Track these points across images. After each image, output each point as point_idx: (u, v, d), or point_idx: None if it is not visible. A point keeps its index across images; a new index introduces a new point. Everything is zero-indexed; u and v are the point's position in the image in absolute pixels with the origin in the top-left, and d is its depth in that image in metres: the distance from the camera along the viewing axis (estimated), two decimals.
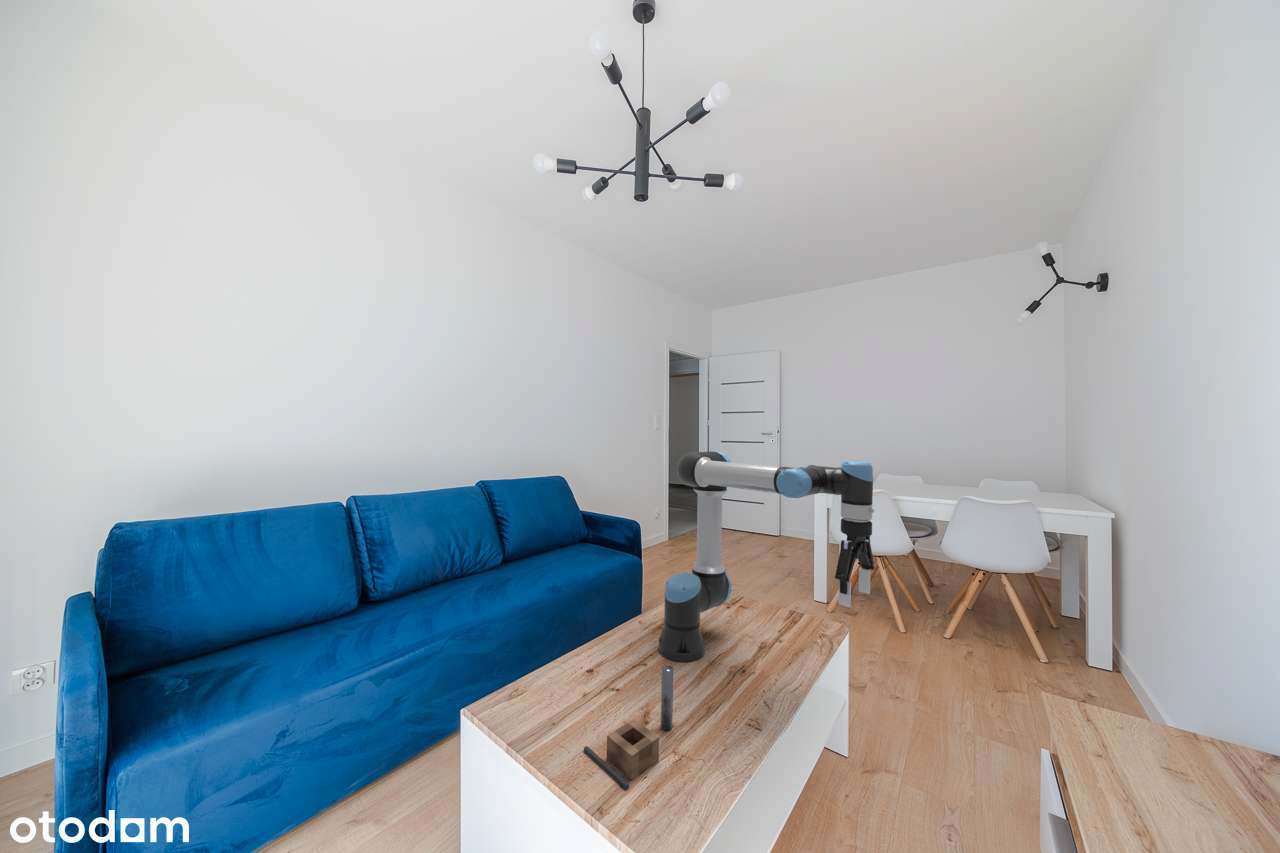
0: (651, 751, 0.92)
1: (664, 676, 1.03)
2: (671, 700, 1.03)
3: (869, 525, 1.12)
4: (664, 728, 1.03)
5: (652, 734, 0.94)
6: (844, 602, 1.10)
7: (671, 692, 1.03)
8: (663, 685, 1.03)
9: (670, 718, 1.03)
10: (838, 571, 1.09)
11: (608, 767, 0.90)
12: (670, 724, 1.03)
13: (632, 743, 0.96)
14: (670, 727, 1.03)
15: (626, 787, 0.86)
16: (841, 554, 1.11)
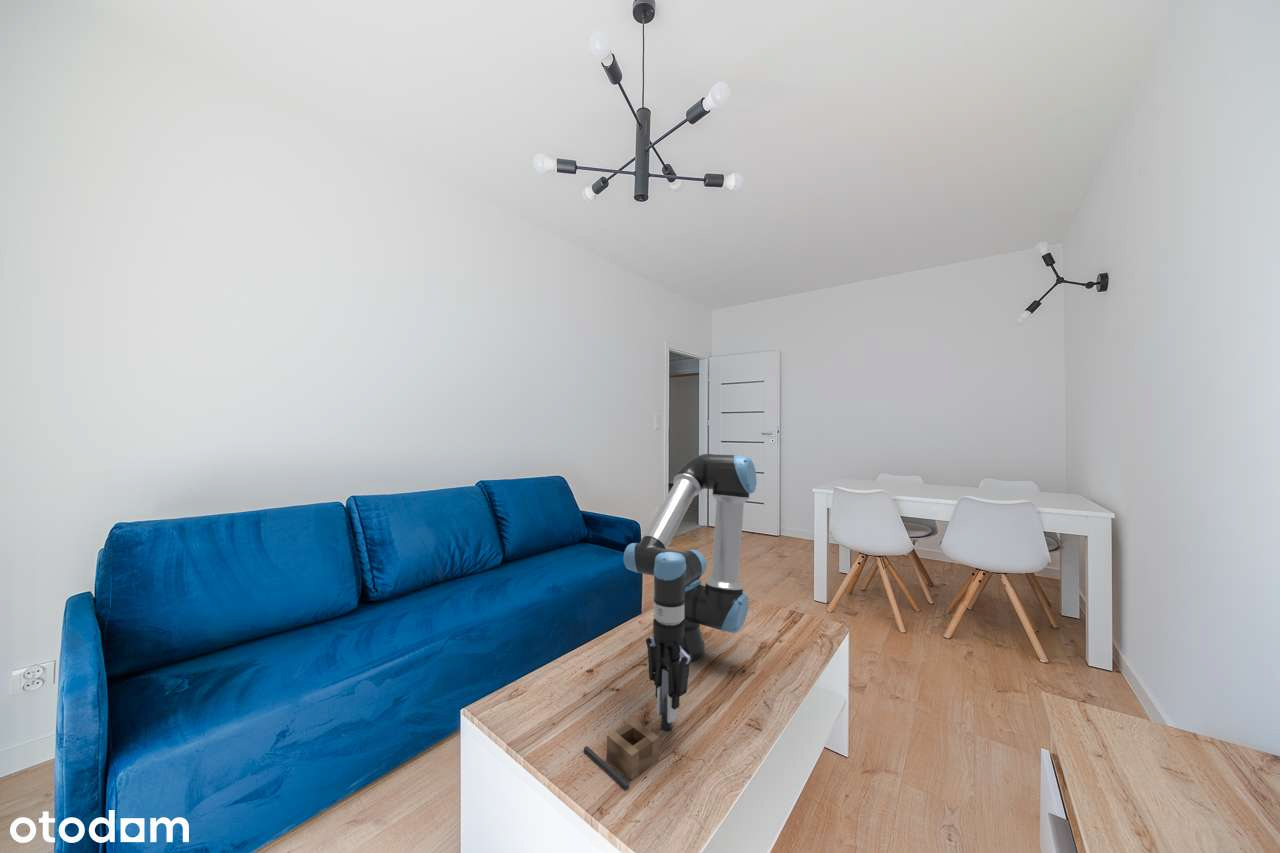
0: (651, 751, 0.92)
1: (664, 676, 1.03)
2: None
3: (655, 625, 1.03)
4: (664, 728, 1.03)
5: (652, 734, 0.94)
6: None
7: None
8: (663, 685, 1.03)
9: None
10: None
11: (608, 767, 0.90)
12: (670, 724, 1.03)
13: (632, 743, 0.96)
14: (670, 727, 1.03)
15: (626, 787, 0.86)
16: None
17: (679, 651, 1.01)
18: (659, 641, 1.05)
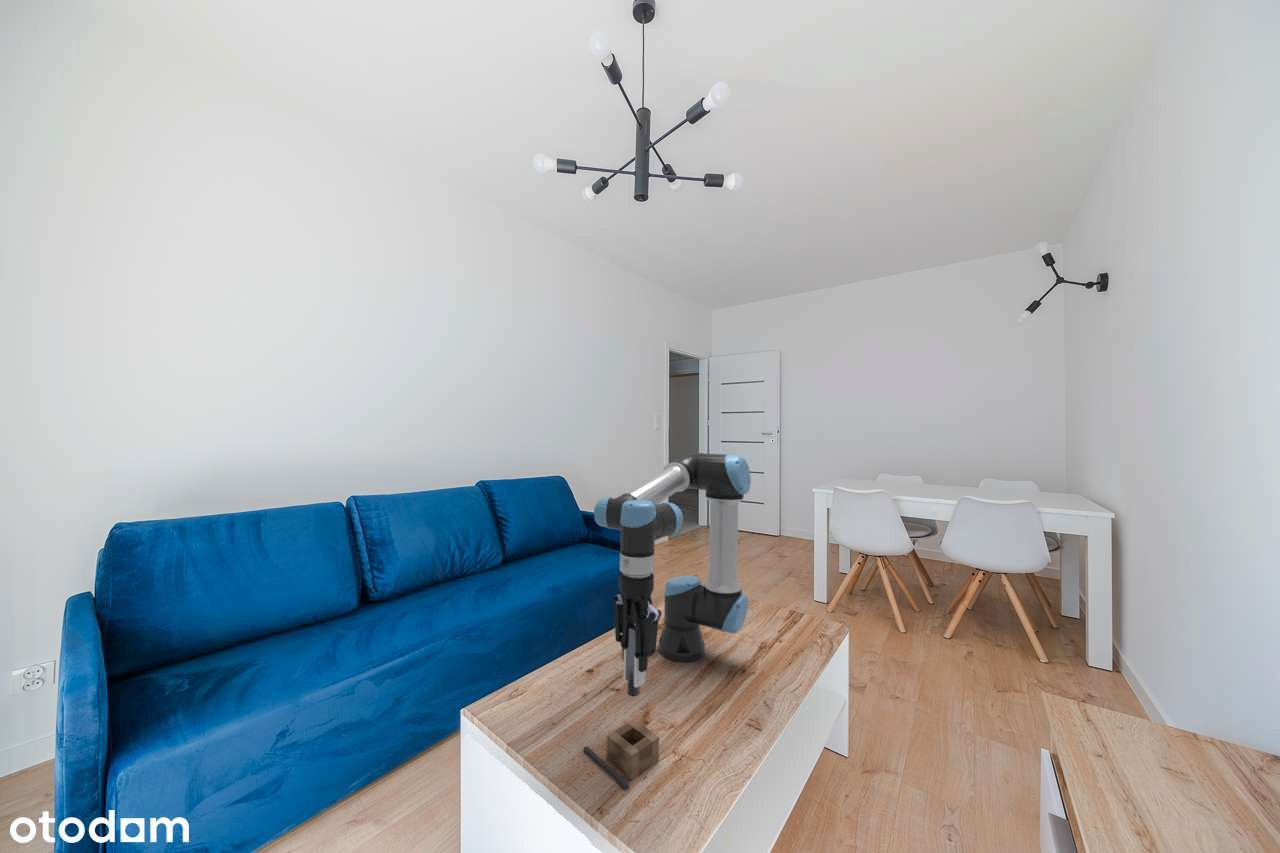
0: (651, 751, 0.92)
1: (631, 636, 0.93)
2: None
3: (621, 579, 0.92)
4: (630, 693, 0.92)
5: (652, 734, 0.94)
6: None
7: None
8: (630, 645, 0.93)
9: None
10: None
11: (608, 767, 0.90)
12: (637, 689, 0.93)
13: (632, 743, 0.96)
14: (637, 692, 0.93)
15: (626, 787, 0.86)
16: None
17: (647, 607, 0.91)
18: (626, 597, 0.95)
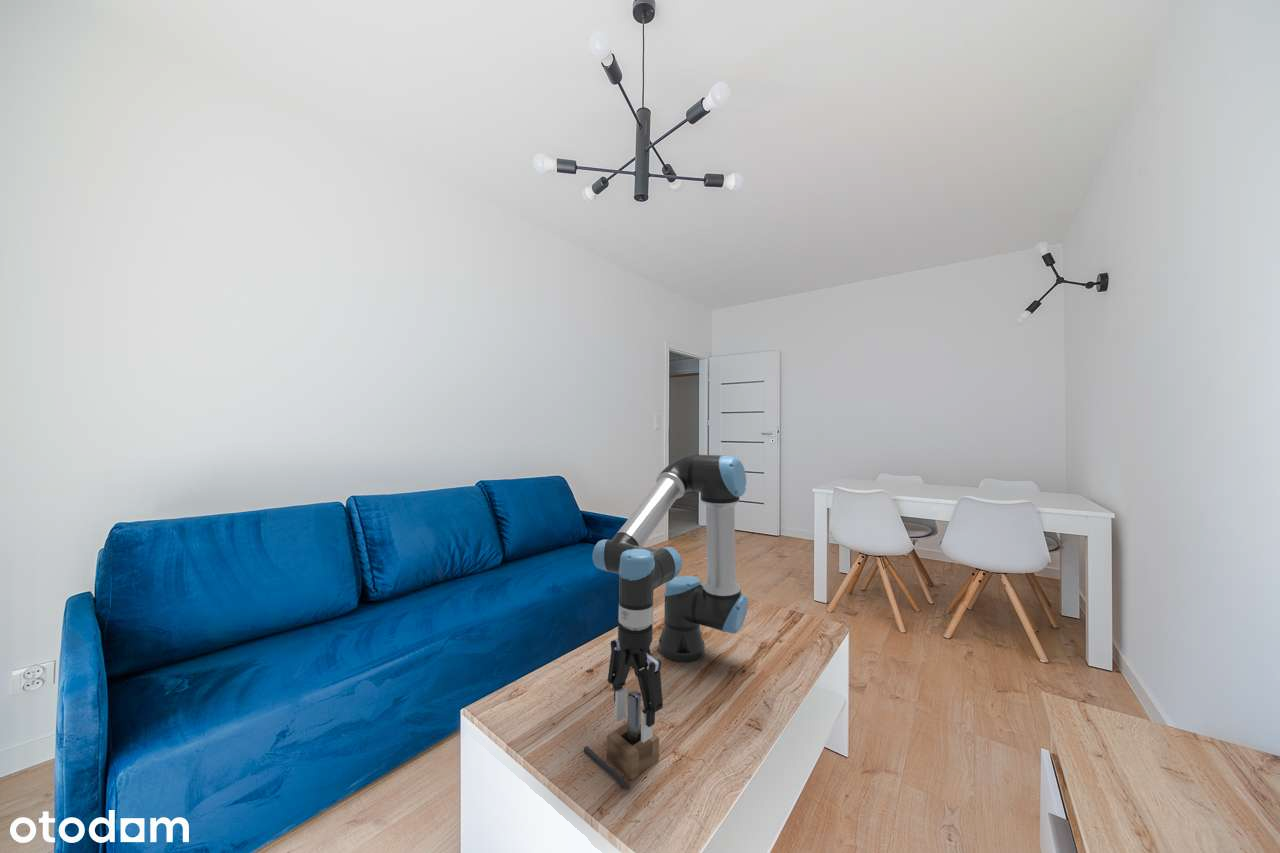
0: (651, 751, 0.92)
1: (630, 704, 0.93)
2: (638, 730, 0.93)
3: (619, 630, 0.92)
4: None
5: None
6: None
7: (638, 721, 0.93)
8: (629, 713, 0.93)
9: None
10: None
11: (608, 767, 0.90)
12: None
13: None
14: None
15: (626, 787, 0.86)
16: None
17: (646, 659, 0.90)
18: (625, 648, 0.95)
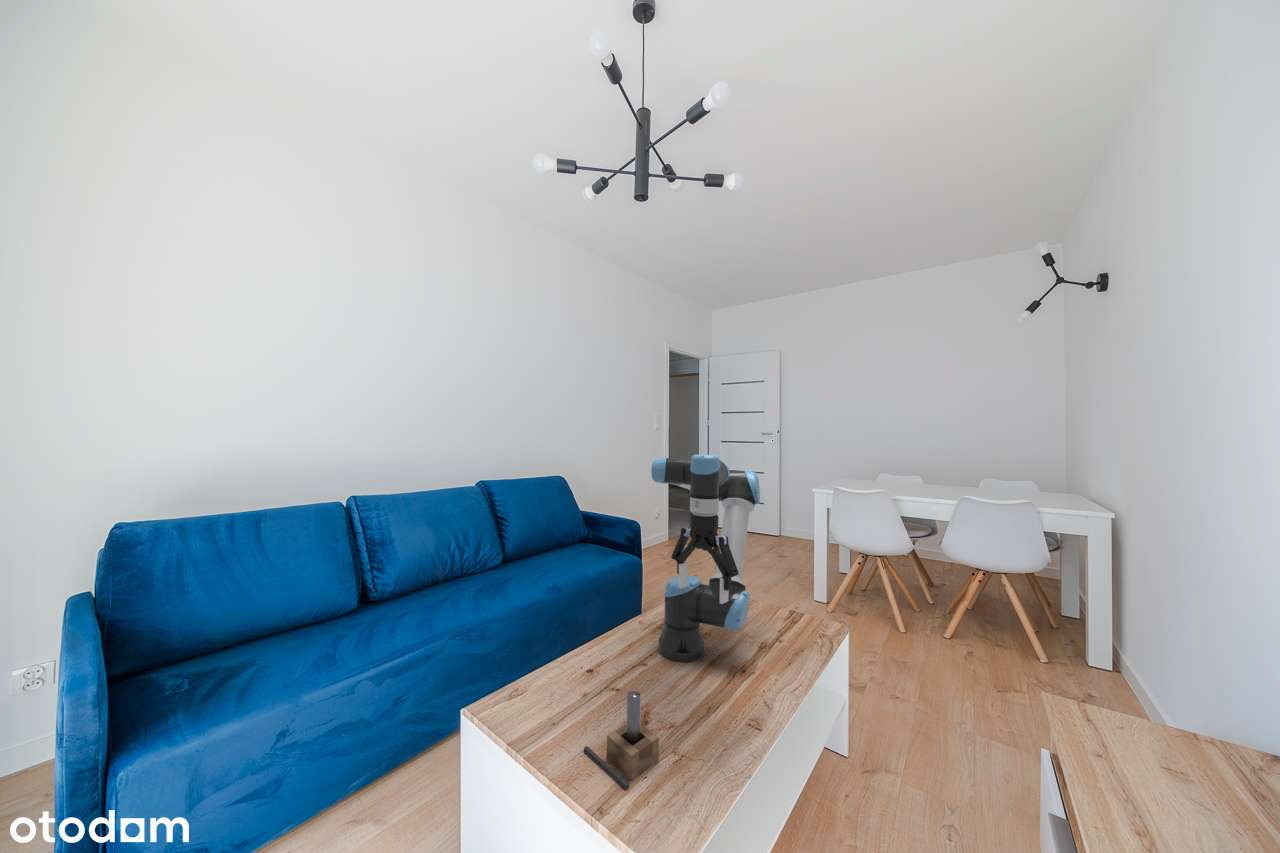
0: (651, 751, 0.92)
1: (629, 704, 0.93)
2: (637, 730, 0.93)
3: (692, 517, 1.12)
4: None
5: (652, 734, 0.94)
6: None
7: (637, 721, 0.93)
8: (628, 713, 0.93)
9: None
10: None
11: (608, 767, 0.90)
12: None
13: None
14: None
15: (626, 787, 0.86)
16: None
17: (714, 539, 1.10)
18: (695, 534, 1.14)
